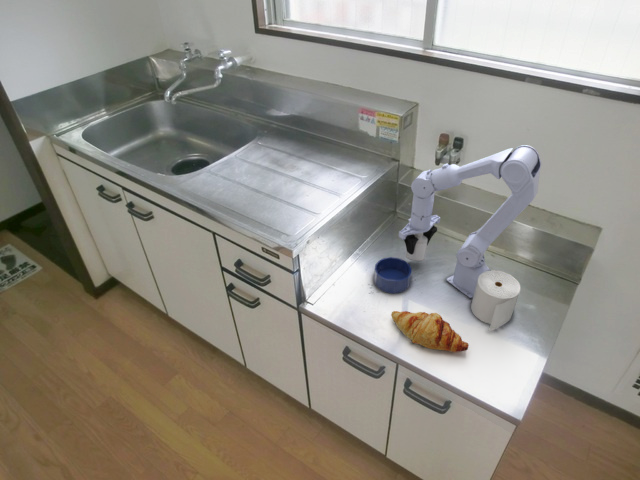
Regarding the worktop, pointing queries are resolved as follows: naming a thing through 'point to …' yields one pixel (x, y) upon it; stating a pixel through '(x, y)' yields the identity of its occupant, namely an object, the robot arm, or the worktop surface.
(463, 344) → the croissant
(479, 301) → the toilet tissue
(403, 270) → the blue bowl
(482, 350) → the worktop surface
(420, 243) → the eye dropper bottle
